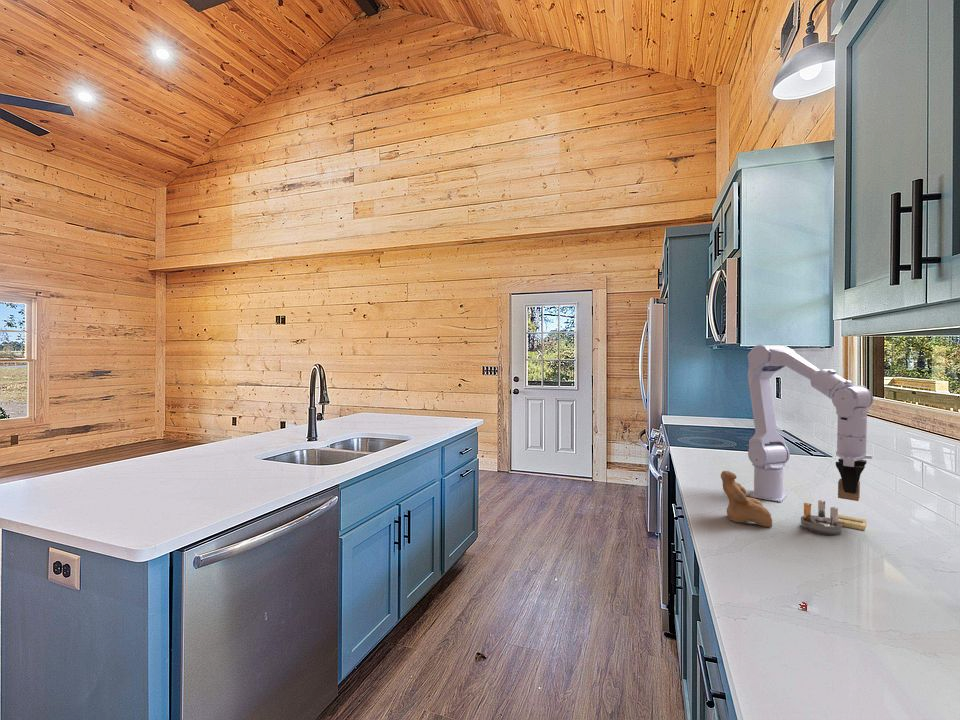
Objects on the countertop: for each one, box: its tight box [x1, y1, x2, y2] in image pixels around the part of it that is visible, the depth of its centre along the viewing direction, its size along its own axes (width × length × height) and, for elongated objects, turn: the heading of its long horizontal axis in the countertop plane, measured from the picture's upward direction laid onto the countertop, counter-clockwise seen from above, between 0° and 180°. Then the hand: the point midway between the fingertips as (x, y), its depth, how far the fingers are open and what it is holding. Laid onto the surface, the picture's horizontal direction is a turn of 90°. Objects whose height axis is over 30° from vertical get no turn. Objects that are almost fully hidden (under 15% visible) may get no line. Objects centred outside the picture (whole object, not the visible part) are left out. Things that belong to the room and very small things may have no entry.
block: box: [837, 478, 861, 502], centre depth 121 cm, size 4×4×4 cm
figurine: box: [720, 470, 773, 528], centre depth 124 cm, size 11×9×15 cm
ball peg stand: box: [800, 499, 843, 537], centre depth 117 cm, size 8×8×6 cm
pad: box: [838, 514, 867, 531], centre depth 121 cm, size 6×6×1 cm
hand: (850, 490), depth 121 cm, fingers closed on block, 4 cm apart
